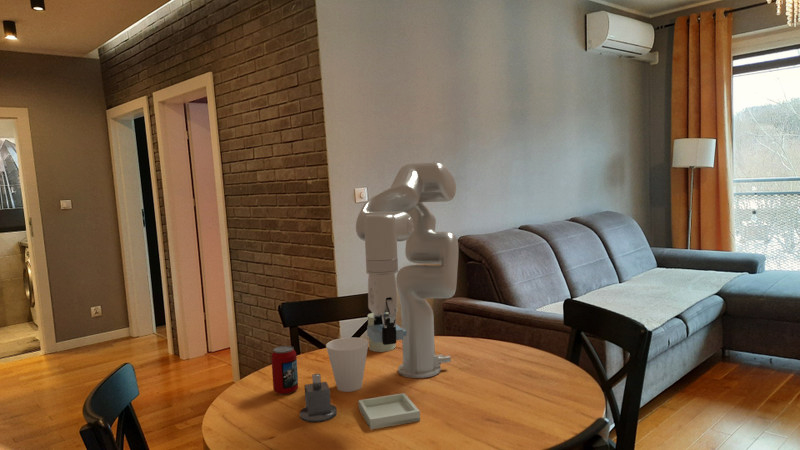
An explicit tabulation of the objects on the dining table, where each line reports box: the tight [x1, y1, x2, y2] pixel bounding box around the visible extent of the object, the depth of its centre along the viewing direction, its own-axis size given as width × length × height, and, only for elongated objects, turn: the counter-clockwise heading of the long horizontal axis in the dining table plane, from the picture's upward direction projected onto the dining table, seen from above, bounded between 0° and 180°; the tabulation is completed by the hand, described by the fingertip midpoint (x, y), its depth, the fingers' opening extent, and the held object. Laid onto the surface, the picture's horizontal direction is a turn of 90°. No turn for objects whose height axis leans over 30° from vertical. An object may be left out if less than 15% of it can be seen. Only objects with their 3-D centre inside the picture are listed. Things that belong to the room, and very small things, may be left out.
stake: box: [299, 373, 338, 424], centre depth 136 cm, size 9×9×10 cm
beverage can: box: [271, 345, 299, 396], centre depth 152 cm, size 7×7×12 cm
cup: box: [325, 337, 369, 393], centre depth 153 cm, size 12×12×12 cm
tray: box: [358, 392, 421, 430], centre depth 134 cm, size 12×12×2 cm
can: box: [367, 312, 397, 353], centre depth 188 cm, size 9×9×12 cm
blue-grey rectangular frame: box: [366, 323, 407, 343], centre depth 133 cm, size 7×9×2 cm
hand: (385, 339), depth 133 cm, fingers closed on blue-grey rectangular frame, 7 cm apart
